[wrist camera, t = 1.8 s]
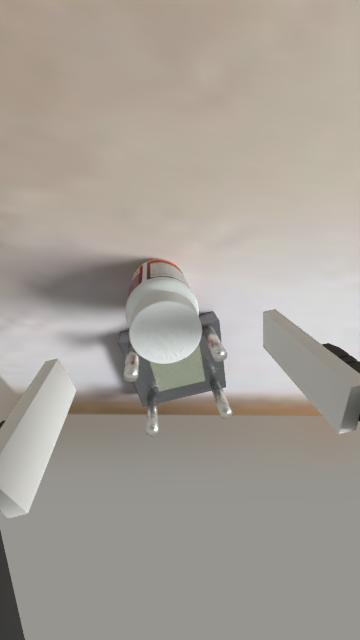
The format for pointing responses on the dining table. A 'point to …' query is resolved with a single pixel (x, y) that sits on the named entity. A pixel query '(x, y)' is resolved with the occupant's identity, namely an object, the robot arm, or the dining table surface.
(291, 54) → the dining table surface
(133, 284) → the pill bottle
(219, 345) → the chassis
